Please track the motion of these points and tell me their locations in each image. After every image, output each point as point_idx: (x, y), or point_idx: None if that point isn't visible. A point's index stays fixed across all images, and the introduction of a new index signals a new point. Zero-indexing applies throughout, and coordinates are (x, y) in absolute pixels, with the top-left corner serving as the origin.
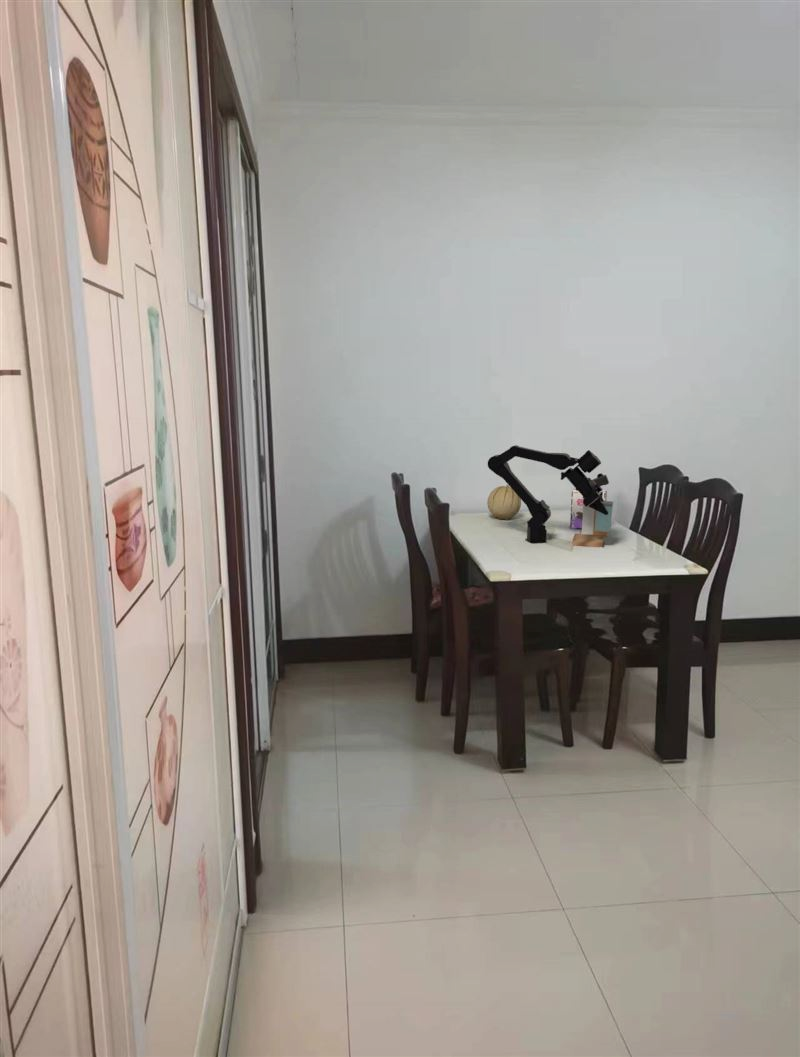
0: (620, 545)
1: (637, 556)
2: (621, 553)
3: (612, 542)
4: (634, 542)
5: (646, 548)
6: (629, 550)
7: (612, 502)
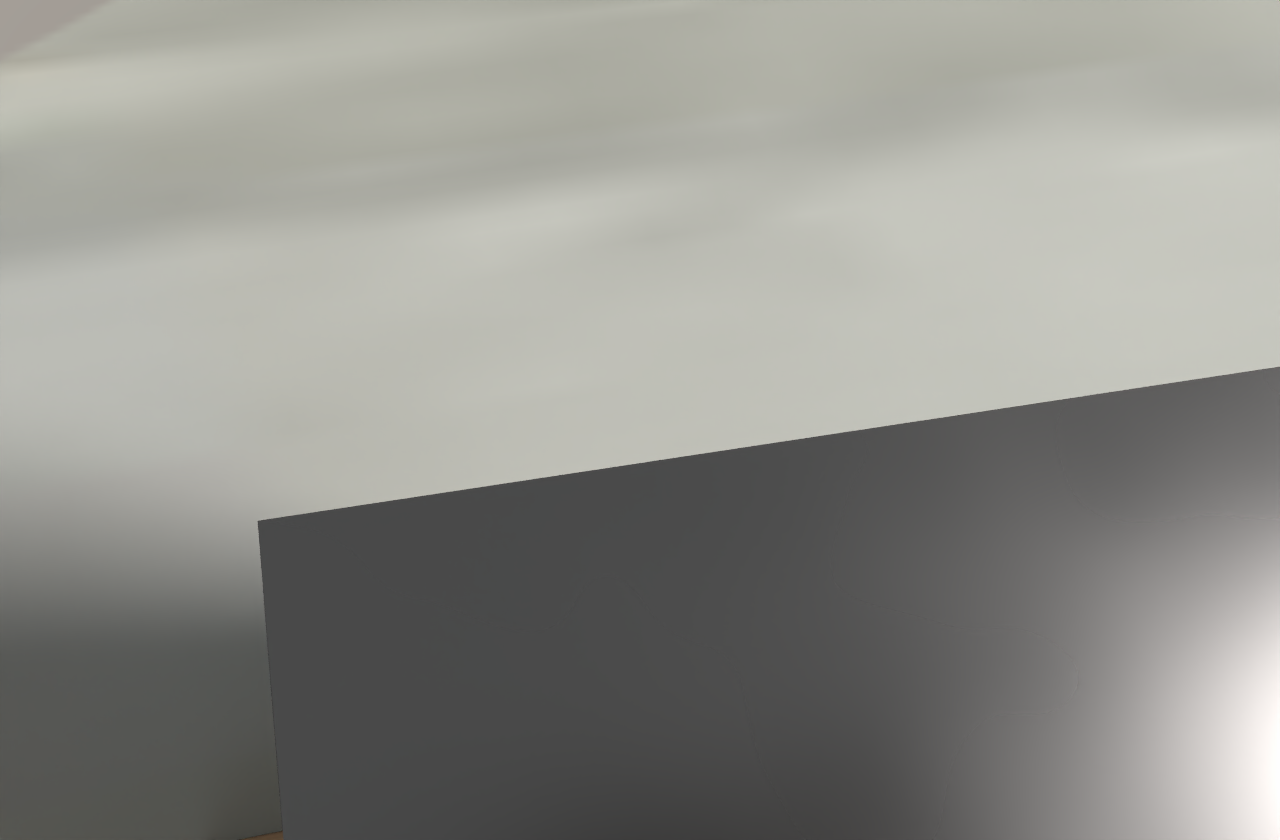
0: (417, 473)
1: (1111, 93)
2: (1047, 338)
3: (196, 670)
4: (28, 294)
5: (467, 49)
6: (757, 263)
7: (719, 499)
